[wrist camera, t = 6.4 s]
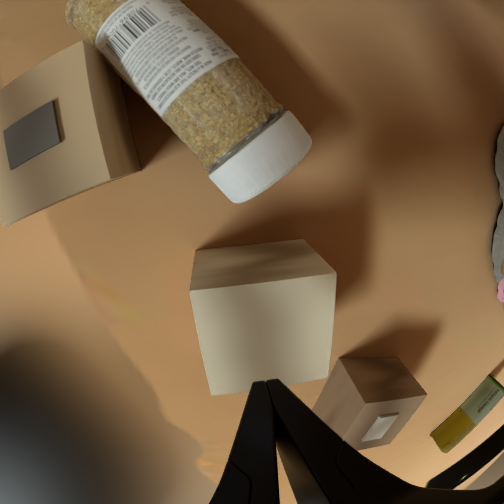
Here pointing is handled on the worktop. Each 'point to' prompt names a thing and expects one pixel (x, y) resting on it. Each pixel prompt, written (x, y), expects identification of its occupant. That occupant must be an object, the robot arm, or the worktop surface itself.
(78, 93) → the oak block marked
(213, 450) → the worktop surface
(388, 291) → the worktop surface
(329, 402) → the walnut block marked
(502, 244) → the pastel sphere sculpture
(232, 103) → the granule seasoning jar
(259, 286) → the plain birch block
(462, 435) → the medication box
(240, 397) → the worktop surface
